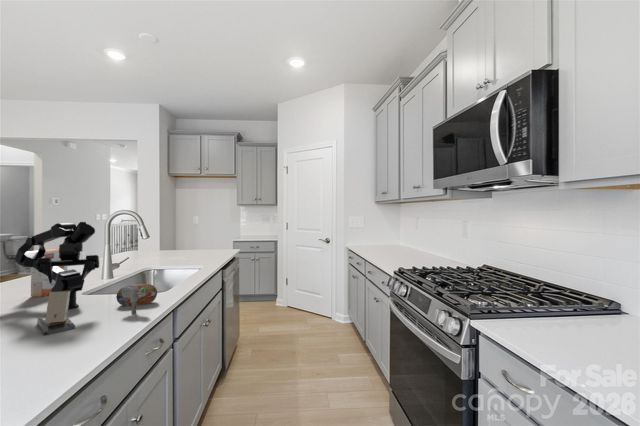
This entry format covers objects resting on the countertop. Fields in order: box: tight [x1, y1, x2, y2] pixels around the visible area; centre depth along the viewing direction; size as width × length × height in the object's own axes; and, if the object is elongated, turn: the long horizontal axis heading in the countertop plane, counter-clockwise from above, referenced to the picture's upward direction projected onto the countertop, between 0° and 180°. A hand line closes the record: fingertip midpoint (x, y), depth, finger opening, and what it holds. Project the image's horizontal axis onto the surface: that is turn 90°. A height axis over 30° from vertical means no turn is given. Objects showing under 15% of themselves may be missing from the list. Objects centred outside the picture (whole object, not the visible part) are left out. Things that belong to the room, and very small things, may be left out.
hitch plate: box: [36, 316, 76, 336], centre depth 107 cm, size 14×8×2 cm, turn 49°
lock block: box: [44, 291, 70, 323], centre depth 108 cm, size 5×5×10 cm
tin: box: [116, 283, 158, 307], centre depth 133 cm, size 15×3×8 cm, turn 111°
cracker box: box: [30, 247, 68, 298], centre depth 148 cm, size 14×6×21 cm, turn 179°
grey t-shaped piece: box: [120, 285, 147, 314], centre depth 122 cm, size 3×10×10 cm, turn 79°
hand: (66, 281), depth 115 cm, fingers open, 9 cm apart
